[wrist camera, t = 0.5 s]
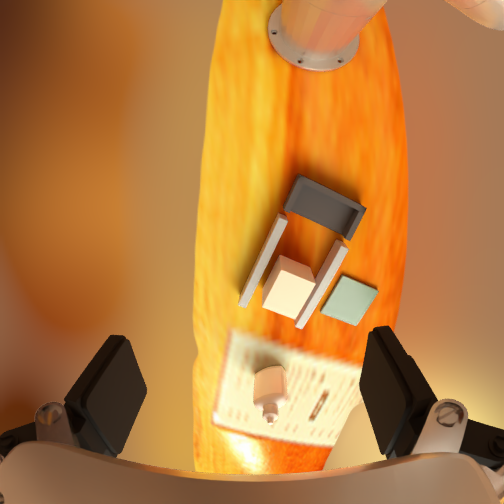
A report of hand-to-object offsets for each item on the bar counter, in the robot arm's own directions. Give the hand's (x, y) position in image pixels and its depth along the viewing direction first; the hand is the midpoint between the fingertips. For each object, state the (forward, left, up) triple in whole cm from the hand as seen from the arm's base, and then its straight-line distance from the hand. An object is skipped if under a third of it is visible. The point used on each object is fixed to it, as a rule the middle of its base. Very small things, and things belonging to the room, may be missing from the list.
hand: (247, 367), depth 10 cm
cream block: (+8, +8, -31) cm, 33 cm away
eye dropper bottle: (+27, +14, -31) cm, 43 cm away
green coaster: (+8, +19, -31) cm, 37 cm away
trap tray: (-4, +8, -31) cm, 32 cm away
